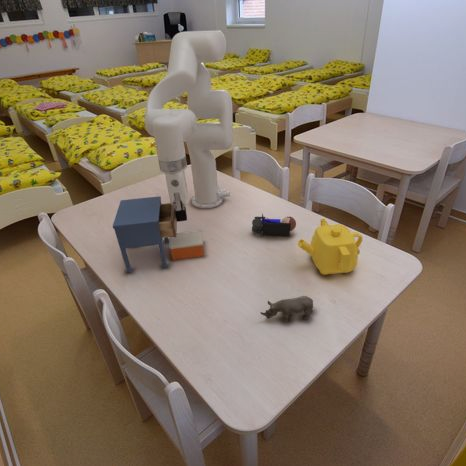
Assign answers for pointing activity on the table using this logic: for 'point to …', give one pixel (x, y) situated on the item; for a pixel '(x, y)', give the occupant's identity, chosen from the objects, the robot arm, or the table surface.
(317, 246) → the teapot
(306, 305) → the rhino figurine
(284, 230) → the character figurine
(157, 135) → the robot arm
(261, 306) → the table surface
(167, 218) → the drawer
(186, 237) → the storage box
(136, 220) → the drawer unit
